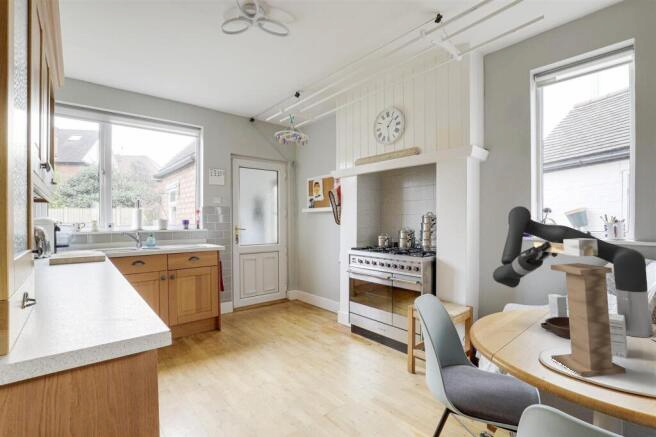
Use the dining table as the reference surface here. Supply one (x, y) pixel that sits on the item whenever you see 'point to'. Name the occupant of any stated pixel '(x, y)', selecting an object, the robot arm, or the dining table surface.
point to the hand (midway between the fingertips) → (553, 243)
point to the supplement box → (618, 335)
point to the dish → (558, 326)
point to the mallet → (573, 247)
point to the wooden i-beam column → (588, 321)
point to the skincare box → (557, 305)
